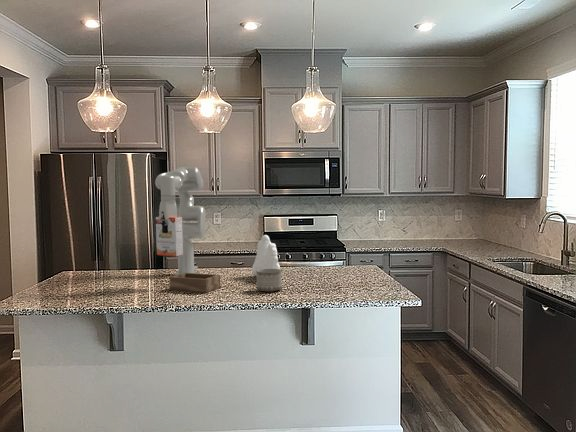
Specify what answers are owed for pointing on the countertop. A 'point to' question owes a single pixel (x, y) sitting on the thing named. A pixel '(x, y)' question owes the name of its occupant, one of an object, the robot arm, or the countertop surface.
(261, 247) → the white fluffy lump
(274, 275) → the planter
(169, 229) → the cracker box
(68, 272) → the countertop surface
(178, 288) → the walnut crate
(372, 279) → the countertop surface
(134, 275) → the countertop surface
